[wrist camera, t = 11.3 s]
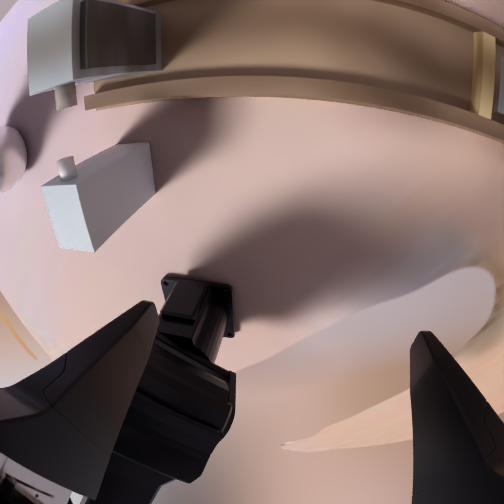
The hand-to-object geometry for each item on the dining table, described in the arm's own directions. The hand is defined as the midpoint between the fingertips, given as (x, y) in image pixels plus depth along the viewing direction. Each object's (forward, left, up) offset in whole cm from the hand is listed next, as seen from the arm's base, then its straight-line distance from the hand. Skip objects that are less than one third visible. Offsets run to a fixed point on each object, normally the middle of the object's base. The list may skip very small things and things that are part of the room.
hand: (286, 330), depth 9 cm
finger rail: (+10, -2, -12) cm, 16 cm away
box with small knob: (+1, +12, -12) cm, 17 cm away
